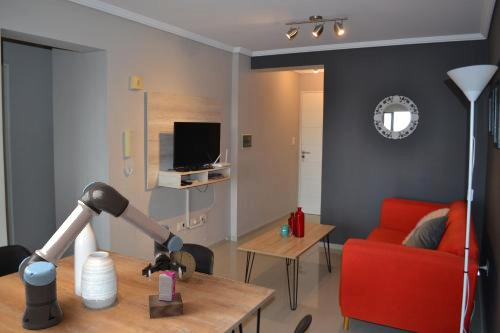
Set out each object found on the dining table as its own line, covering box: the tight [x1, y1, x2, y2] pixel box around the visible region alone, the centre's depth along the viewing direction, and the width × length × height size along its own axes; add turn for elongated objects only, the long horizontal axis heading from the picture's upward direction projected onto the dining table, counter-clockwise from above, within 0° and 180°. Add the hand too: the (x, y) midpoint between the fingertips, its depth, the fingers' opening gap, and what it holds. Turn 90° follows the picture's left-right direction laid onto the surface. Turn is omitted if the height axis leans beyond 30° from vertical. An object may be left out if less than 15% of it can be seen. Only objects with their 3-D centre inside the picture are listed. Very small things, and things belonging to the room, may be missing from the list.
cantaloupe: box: [167, 250, 197, 281], centre depth 219 cm, size 15×15×15 cm
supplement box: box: [158, 271, 177, 302], centre depth 184 cm, size 6×6×12 cm
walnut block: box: [148, 292, 184, 319], centre depth 185 cm, size 14×12×5 cm
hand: (165, 276), depth 188 cm, fingers open, 13 cm apart
